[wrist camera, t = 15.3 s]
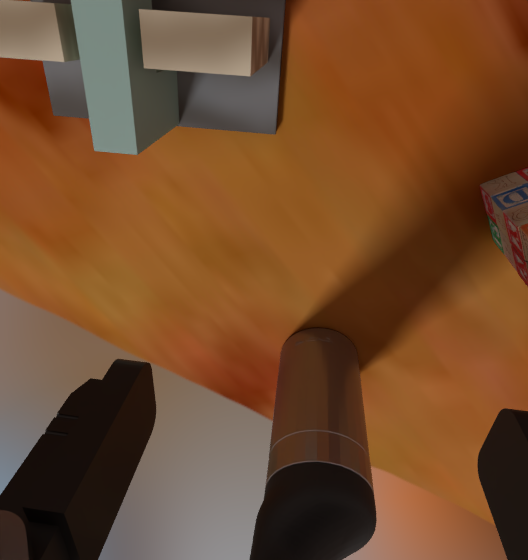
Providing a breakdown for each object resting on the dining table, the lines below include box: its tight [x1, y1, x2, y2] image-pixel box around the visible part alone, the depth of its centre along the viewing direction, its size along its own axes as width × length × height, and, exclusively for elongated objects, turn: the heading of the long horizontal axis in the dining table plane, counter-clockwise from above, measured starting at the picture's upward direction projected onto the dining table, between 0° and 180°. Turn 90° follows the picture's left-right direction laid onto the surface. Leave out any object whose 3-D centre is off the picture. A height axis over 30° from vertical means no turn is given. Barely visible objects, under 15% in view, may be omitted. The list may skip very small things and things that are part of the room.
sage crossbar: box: [71, 0, 179, 155], centre depth 29 cm, size 14×3×10 cm, turn 177°
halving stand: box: [0, 0, 286, 134], centre depth 29 cm, size 14×20×11 cm
